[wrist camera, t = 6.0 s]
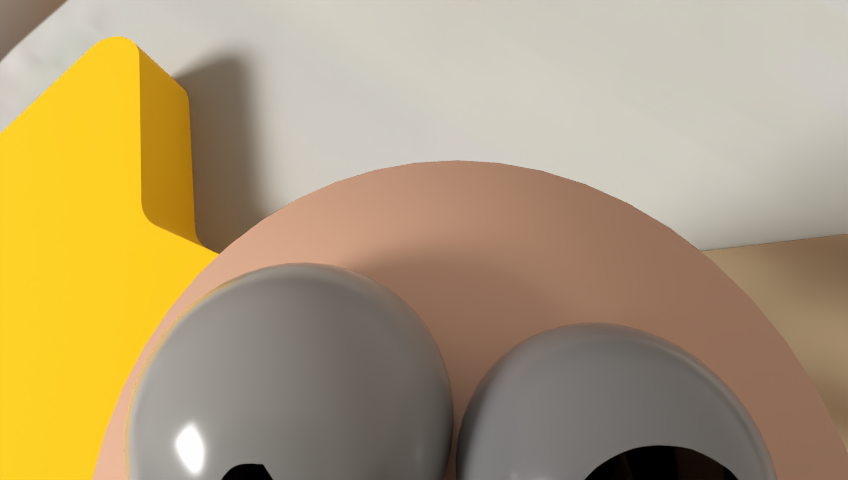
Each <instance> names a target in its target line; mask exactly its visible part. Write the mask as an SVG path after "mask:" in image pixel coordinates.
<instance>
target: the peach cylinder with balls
mask: <svg viewBox="0 0 848 480" xmlns="http://www.w3.org/2000/svg"><path fill="white" fill-rule="evenodd" d="M92 480H848V453H847V450H846V447H845V445H844V443H843V441H842V439H841V437H840V435H839V433H838V431H837V429H836V427H835V424H834V422H833V420H832V418H831V416H830V414H829V412H828V410H827V408H826V406H825V404H824V402H823V400H822V398H821V396H820V394H819V392H818V390H817V388H816V387H815V385H814V384H813V382H812V381H811V379H810V378H809V376H808V374H807V373H806V371H805V370H804V368H803V367H802V365H801V364H800V362H799V361H798V359H797V357H796V356H795V354H794V353H793V351H792V350H791V348H790V347H789V345H788V343H787V342H786V340H785V339H784V338H783V337H782V336H781V334H780V333H779V332H778V331H777V329H776V328H775V327H774V326H773V325H772V323H771V322H770V321H769V320H768V319H767V317H766V316H765V315H764V314H763V312H762V311H761V310H760V309H759V308H758V306H757V305H756V304H755V303H754V301H753V300H752V299H751V298H750V297H749V296H748V295H747V294H746V293H745V292H744V291H743V290H742V289H741V288H740V287H739V286H738V285H737V284H736V283H735V282H734V281H733V280H732V279H731V278H730V277H729V276H728V275H727V274H725V273H724V272H723V271H722V270H721V269H720V268H719V267H718V266H717V265H716V264H715V263H714V262H713V261H712V260H711V259H710V258H708V257H707V256H706V255H704V254H703V253H702V252H700V251H699V250H698V249H697V248H695V247H694V246H693V245H691V244H690V243H689V242H687V241H686V240H685V239H683V238H682V237H681V236H680V235H678V234H677V233H676V232H674V231H673V230H672V229H670V228H669V227H667V226H665V225H664V224H662V223H660V222H659V221H657V220H655V219H654V218H652V217H650V216H648V215H647V214H645V213H643V212H642V211H640V210H638V209H637V208H635V207H633V206H632V205H630V204H628V203H626V202H624V201H622V200H619V199H617V198H615V197H613V196H610V195H608V194H606V193H604V192H601V191H599V190H597V189H595V188H592V187H590V186H588V185H586V184H583V183H579V182H576V181H573V180H570V179H566V178H563V177H560V176H557V175H553V174H550V173H547V172H544V171H539V170H534V169H529V168H523V167H518V166H512V165H507V164H501V163H489V162H473V161H440V162H423V163H412V164H406V165H401V166H395V167H390V168H385V169H379V170H374V171H371V172H367V173H364V174H361V175H358V176H354V177H351V178H348V179H345V180H341V181H338V182H335V183H333V184H330V185H328V186H326V187H324V188H321V189H319V190H317V191H315V192H312V193H310V194H308V195H306V196H303V197H301V198H299V199H297V200H295V201H294V202H292V203H290V204H288V205H287V206H285V207H283V208H282V209H280V210H278V211H277V212H275V213H273V214H272V215H270V216H268V217H267V218H265V219H263V220H262V221H260V222H259V223H258V224H256V225H255V226H254V227H252V228H251V229H250V230H248V231H247V232H246V233H245V234H243V235H242V236H241V237H239V238H238V239H237V240H235V241H234V242H233V243H231V244H230V245H229V246H228V247H227V248H226V249H225V250H223V251H222V252H221V253H220V254H219V255H218V256H217V257H216V258H215V259H214V260H213V261H212V262H211V263H210V264H209V265H208V266H207V267H206V268H205V269H204V270H203V271H202V272H200V273H199V274H198V275H197V277H196V278H195V279H194V280H193V281H192V283H191V284H190V285H189V286H188V287H187V289H186V290H185V291H184V292H183V293H182V294H181V296H180V297H179V298H178V299H177V300H176V302H175V303H174V304H173V305H172V306H171V308H170V309H169V310H168V312H167V313H166V315H165V316H164V318H163V319H162V321H161V322H160V324H159V325H158V327H157V328H156V330H155V331H154V333H153V334H152V336H151V337H150V339H149V340H148V342H147V343H146V345H145V346H144V348H143V350H142V352H141V354H140V356H139V358H138V360H137V362H136V363H135V365H134V367H133V369H132V371H131V373H130V375H129V377H128V379H127V381H126V383H125V385H124V386H123V389H122V391H121V394H120V396H119V399H118V401H117V404H116V406H115V409H114V411H113V414H112V416H111V419H110V421H109V424H108V426H107V429H106V432H105V435H104V438H103V442H102V445H101V449H100V453H99V456H98V460H97V463H96V467H95V470H94V474H93V478H92Z"/></svg>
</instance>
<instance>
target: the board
mask: <svg viewBox="0 0 848 480" xmlns="http://www.w3.org/2000/svg"><path fill="white" fill-rule="evenodd" d="M701 252H702V253H703V254H704V255H706V256H707V257H708V258H710V259H711V260H712V261H713V262H714V263H715V264H716V265H717V266H718V267H719V268H720V269H721V270H722V271H723V272H724V273H725V274H727V275H728V276H729V277H730V278H731V279H732V280H733V281H734V282H735V283H736V284H737V285H738V286H739V287H740V288H741V289H742V290H743V291H744V292H745V293H746V294H747V295H748V296H749V297H750V298H751V299H752V300H753V301H754V303H755V304H756V305H757V306H758V308H759V309H760V310H761V311H762V312H763V314H764V315H765V316H766V317H767V319H768V320H769V321H770V322H771V323H772V325H773V326H774V327H775V328H776V329H777V331H778V332H779V333H780V334H781V336H782V337H783V338H784V339H785V340H786V342H787V343H788V345H789V347H790V348H791V350H792V351H793V353H794V354H795V356H796V357H797V359H798V361H799V362H800V364H801V365H802V367H803V368H804V370H805V371H806V373H807V374H808V376H809V378H810V379H811V381H812V382H813V384H814V385H815V387H816V388H817V390H818V392H819V394H820V396H821V398H822V400H823V402H824V404H825V406H826V408H827V410H828V412H829V414H830V416H831V418H832V420H833V422H834V424H835V427H836V429H837V431H838V433H839V435H840V437H841V439H842V441H843V443H844V445H845V447H846V450H847V453H848V234H842V235H834V236H825V237H817V238H809V239H800V240H792V241H784V242H775V243H767V244H759V245H751V246H742V247H734V248H726V249H717V250H709V251H701Z"/></svg>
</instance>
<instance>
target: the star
mask: <svg viewBox="0 0 848 480" xmlns="http://www.w3.org/2000/svg"><path fill="white" fill-rule="evenodd" d="M218 255H219V254H218V253H216V252H214V251H212V250H209V249H208V248H206V247H204V246H203V245H202V244H201V243H200V241H199V240H198V238H197V235H196V231H195V214H194V193H193V173H192V152H191V131H190V111H189V98H188V95H187V92H186V91H185V90H184V88H182V87H181V86H180V85H179V84H178V83H177V82H176V81H175V80H174V79H173V78H172V77H170V76H169V75H168V74H167V73H166V72H165V71H164V70H163V69H162V68H161V67H160V66H159V65H157V64H156V63H155V62H154V61H153V60H152V59H151V58H150V57H149V56H148V55H147V54H146V53H144V52H143V51H142V50H141V49H140V48H139V47H138V46H137V45H136V44H135V43H134V42H132V41H131V40H129V39H127V38H124V37H110V38H106V39H104V40H102V41H100V42H98V43H97V44H95V45H94V46H93V47H92V48H90V49H89V50H88V51H87V52H86V53H85V54H84V55H83V56H82V57H81V58H80V59H79V60H78V61H77V62H76V63H75V64H73V65H72V66H71V67H70V68H69V69H68V70H67V71H66V72H65V73H64V74H63V75H62V76H61V77H60V78H59V79H58V80H57V81H55V82H54V83H53V84H52V85H51V86H50V87H49V88H48V89H47V90H46V91H45V92H44V93H43V94H42V95H41V96H40V97H39V98H38V99H36V100H35V101H34V102H33V103H32V104H31V105H30V106H29V107H28V108H27V109H26V110H25V111H24V112H23V113H22V114H21V115H20V116H19V117H17V118H16V119H15V120H14V121H13V122H12V123H11V124H10V125H9V126H8V127H7V128H6V129H5V130H4V131H3V132H2V133H1V134H0V480H92V478H93V474H94V470H95V467H96V463H97V460H98V456H99V453H100V449H101V445H102V442H103V438H104V435H105V432H106V429H107V426H108V424H109V421H110V419H111V416H112V414H113V411H114V409H115V406H116V404H117V401H118V399H119V396H120V394H121V391H122V389H123V386H124V385H125V383H126V381H127V379H128V377H129V375H130V373H131V371H132V369H133V367H134V365H135V363H136V362H137V360H138V358H139V356H140V354H141V352H142V350H143V348H144V346H145V345H146V343H147V342H148V340H149V339H150V337H151V336H152V334H153V333H154V331H155V330H156V328H157V327H158V325H159V324H160V322H161V321H162V319H163V318H164V316H165V315H166V313H167V312H168V310H169V309H170V308H171V306H172V305H173V304H174V303H175V302H176V300H177V299H178V298H179V297H180V296H181V294H182V293H183V292H184V291H185V290H186V289H187V287H188V286H189V285H190V284H191V283H192V281H193V280H194V279H195V278H196V277H197V275H198V274H199V273H200V272H202V271H203V270H204V269H205V268H206V267H207V266H208V265H209V264H210V263H211V262H212V261H213V260H214V259H215V258H216V257H217V256H218Z"/></svg>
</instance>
